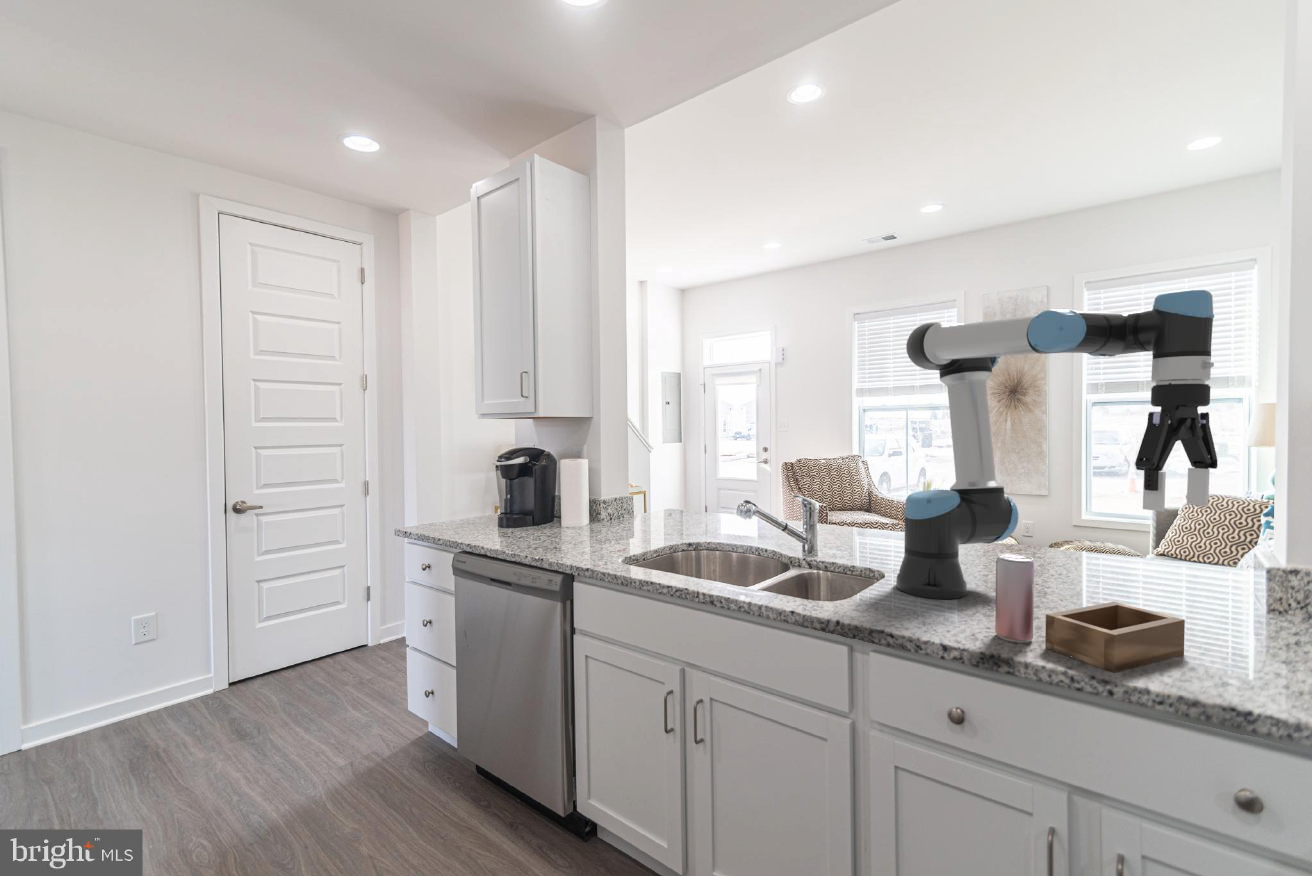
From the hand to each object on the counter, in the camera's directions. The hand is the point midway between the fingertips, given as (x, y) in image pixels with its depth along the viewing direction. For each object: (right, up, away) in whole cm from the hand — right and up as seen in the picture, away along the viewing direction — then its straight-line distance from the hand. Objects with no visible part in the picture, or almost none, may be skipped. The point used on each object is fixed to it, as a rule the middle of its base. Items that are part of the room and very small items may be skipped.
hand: (1175, 507), depth 101 cm
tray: (-10, -25, +1) cm, 27 cm away
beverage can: (-23, -25, +8) cm, 35 cm away
